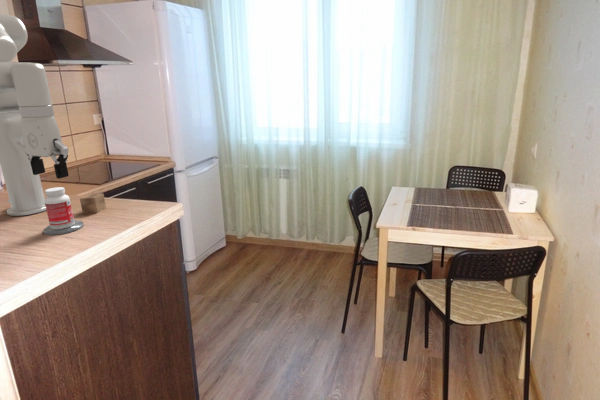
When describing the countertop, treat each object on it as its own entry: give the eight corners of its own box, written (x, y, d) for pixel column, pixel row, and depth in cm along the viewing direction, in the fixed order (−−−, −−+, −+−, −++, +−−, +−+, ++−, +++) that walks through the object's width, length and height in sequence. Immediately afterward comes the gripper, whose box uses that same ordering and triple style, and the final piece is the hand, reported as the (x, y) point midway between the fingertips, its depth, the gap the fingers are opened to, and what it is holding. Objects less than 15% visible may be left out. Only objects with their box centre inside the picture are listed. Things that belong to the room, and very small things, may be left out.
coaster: (35, 232, 113) (35, 230, 113) (68, 220, 122) (68, 218, 121) (59, 237, 109) (58, 234, 109) (91, 224, 117) (90, 222, 117)
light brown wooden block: (82, 213, 128) (79, 198, 127) (91, 208, 133) (88, 193, 132) (97, 213, 128) (94, 198, 127) (106, 208, 133) (103, 193, 131)
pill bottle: (76, 226, 114) (68, 189, 111) (51, 231, 111) (42, 193, 108) (74, 221, 119) (66, 184, 116) (50, 225, 116) (41, 188, 113)
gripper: (2, 112, 106) (17, 175, 111) (45, 115, 99) (59, 182, 104) (30, 109, 112) (43, 169, 118) (72, 112, 105) (84, 175, 111)
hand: (50, 175), depth 111 cm, fingers open, 9 cm apart
